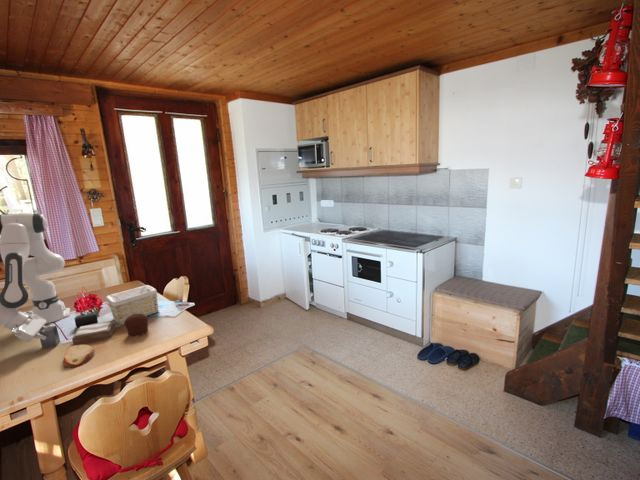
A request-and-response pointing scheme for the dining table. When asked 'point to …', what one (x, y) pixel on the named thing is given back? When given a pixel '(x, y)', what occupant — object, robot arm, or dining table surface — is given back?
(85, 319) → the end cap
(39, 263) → the robot arm
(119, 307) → the storage basket
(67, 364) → the slice of bread
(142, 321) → the muffin
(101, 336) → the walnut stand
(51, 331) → the block
